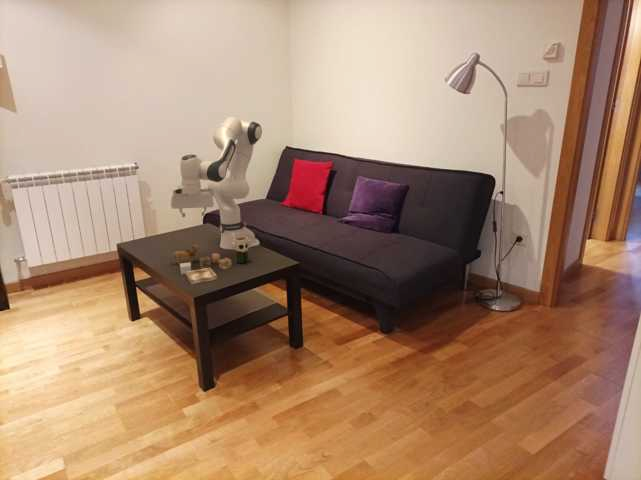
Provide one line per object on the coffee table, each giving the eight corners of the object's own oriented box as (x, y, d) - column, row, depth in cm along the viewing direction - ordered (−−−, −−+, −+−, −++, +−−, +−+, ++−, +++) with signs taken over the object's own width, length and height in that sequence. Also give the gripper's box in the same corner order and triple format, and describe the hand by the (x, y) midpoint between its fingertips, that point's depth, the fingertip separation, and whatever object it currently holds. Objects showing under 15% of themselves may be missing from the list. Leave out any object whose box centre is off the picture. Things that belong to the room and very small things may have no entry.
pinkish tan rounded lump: (219, 259, 255) (218, 252, 253) (221, 262, 251) (220, 254, 250) (211, 261, 253) (210, 253, 252) (213, 263, 250) (212, 256, 248)
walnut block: (209, 265, 247) (208, 256, 245) (211, 268, 243) (210, 259, 242) (200, 267, 245) (199, 257, 244) (202, 270, 241) (201, 260, 240)
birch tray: (210, 271, 239) (210, 267, 239) (217, 279, 229) (216, 275, 229) (186, 275, 234) (185, 271, 234) (191, 284, 224) (191, 280, 224)
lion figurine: (197, 259, 256) (196, 243, 253) (200, 262, 252) (198, 245, 249) (169, 263, 250) (167, 247, 247) (171, 267, 245) (169, 250, 243)
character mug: (236, 266, 246) (234, 241, 241) (230, 262, 251) (228, 238, 247) (255, 261, 251) (253, 237, 247) (248, 257, 257) (247, 234, 253)
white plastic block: (191, 269, 242) (190, 262, 241) (191, 273, 237) (190, 265, 236) (180, 270, 241) (180, 263, 240) (181, 274, 236) (180, 266, 235)
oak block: (226, 265, 248) (226, 257, 246) (231, 267, 244) (231, 260, 243) (219, 267, 245) (218, 259, 244) (223, 269, 242) (223, 262, 240)
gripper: (213, 186, 241) (214, 214, 245) (170, 188, 237) (173, 215, 241) (213, 189, 235) (214, 217, 239) (169, 190, 231) (171, 218, 235)
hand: (193, 216), depth 240 cm, fingers open, 8 cm apart
